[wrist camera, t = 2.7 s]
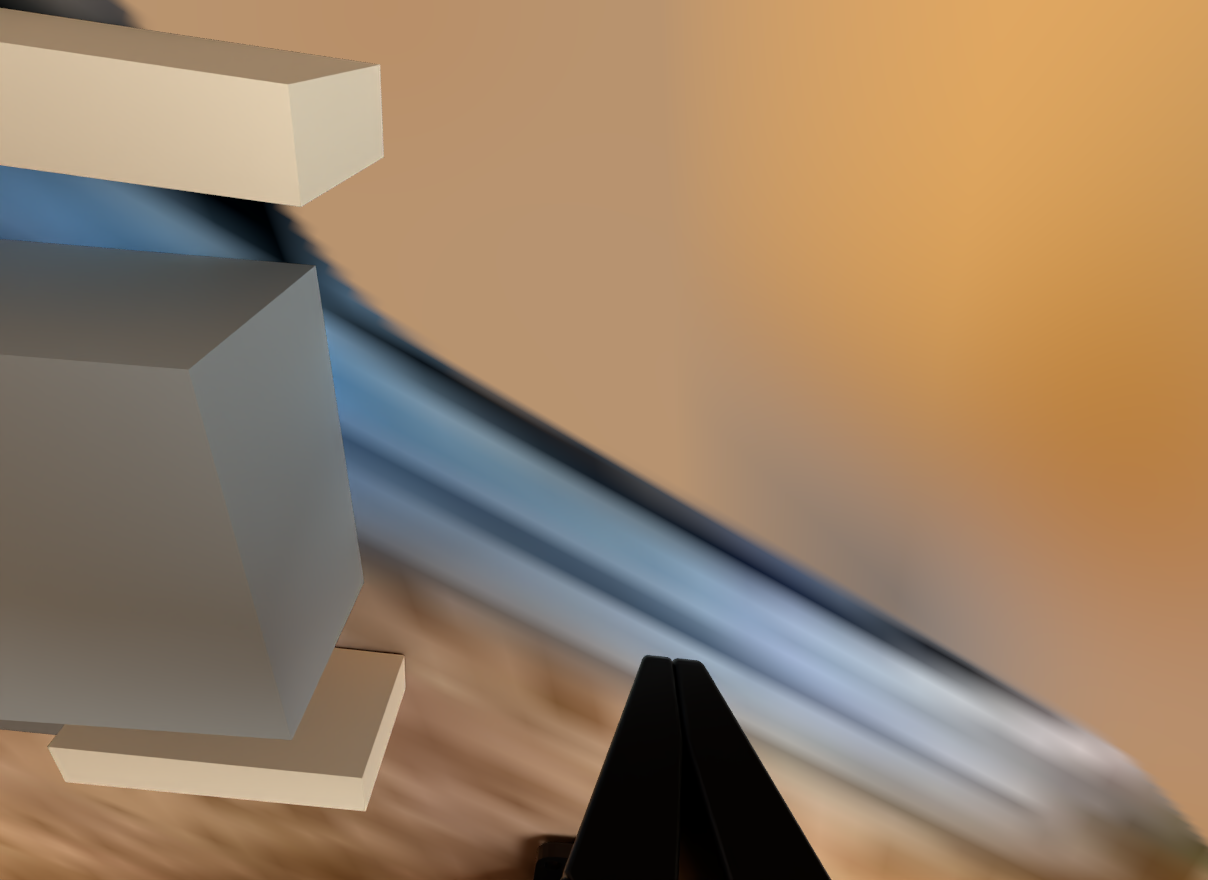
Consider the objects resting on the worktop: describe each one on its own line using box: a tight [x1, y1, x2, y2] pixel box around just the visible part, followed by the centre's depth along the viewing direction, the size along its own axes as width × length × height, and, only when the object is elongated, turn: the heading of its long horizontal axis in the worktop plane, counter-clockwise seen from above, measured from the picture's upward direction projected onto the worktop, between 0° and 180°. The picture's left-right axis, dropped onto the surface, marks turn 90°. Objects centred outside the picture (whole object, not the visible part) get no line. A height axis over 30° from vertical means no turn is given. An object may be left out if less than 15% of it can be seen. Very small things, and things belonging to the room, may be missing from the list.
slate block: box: [0, 239, 364, 740], centre depth 11 cm, size 7×7×4 cm
